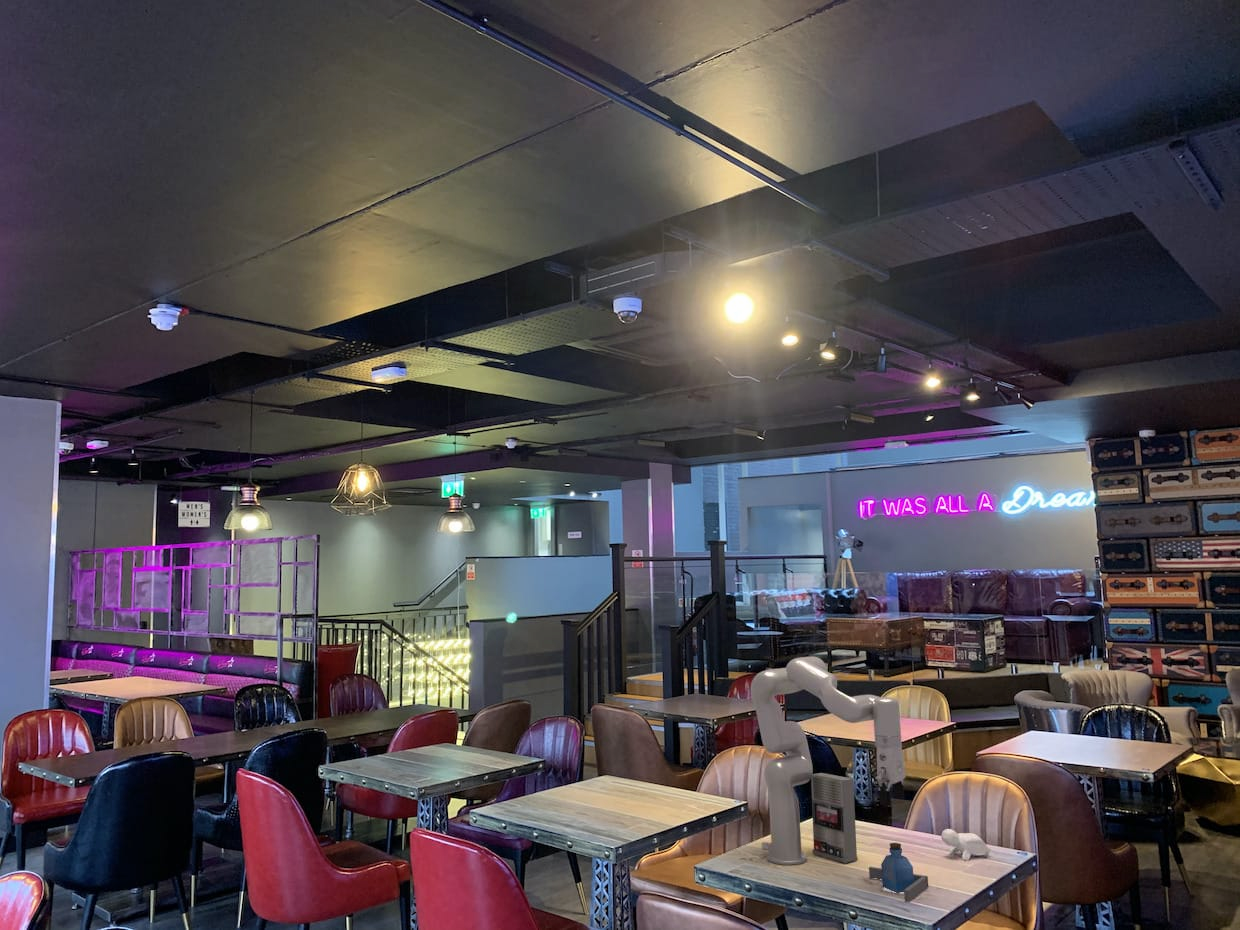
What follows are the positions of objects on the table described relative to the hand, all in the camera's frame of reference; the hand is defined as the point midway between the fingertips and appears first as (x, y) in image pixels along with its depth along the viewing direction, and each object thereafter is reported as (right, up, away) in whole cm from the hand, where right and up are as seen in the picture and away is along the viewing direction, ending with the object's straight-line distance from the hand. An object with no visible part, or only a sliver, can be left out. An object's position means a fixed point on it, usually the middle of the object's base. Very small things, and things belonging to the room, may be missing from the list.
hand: (892, 801), depth 255 cm
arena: (-2, -24, -3) cm, 24 cm away
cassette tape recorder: (-10, -29, +28) cm, 42 cm away
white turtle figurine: (+31, -28, +25) cm, 49 cm away
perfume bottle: (+1, -24, -4) cm, 24 cm away
